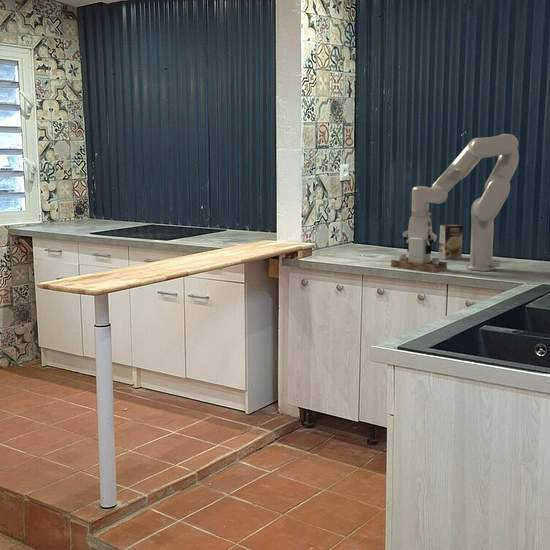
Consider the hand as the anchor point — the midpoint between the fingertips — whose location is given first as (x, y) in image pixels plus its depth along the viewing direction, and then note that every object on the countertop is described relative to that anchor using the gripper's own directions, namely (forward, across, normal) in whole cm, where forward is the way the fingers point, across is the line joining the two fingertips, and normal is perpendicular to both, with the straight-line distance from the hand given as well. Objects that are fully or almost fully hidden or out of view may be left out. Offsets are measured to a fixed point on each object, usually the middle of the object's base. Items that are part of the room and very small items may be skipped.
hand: (419, 252), depth 351 cm
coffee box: (+7, +3, -33) cm, 34 cm away
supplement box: (+6, 0, 0) cm, 6 cm away
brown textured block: (+7, 0, 0) cm, 7 cm away
